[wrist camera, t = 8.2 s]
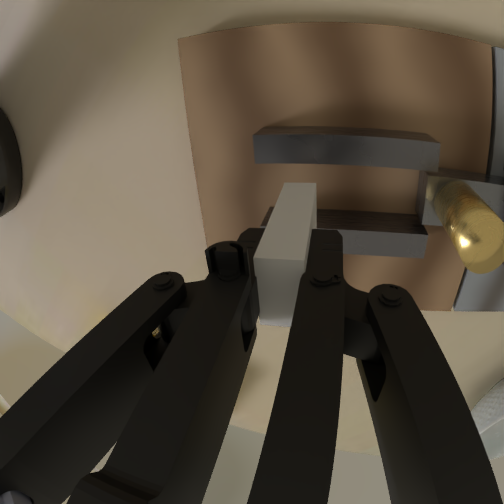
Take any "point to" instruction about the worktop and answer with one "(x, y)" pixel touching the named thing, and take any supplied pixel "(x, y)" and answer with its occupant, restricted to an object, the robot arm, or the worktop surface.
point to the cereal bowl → (491, 420)
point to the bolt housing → (360, 154)
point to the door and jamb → (346, 115)
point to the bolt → (466, 213)
